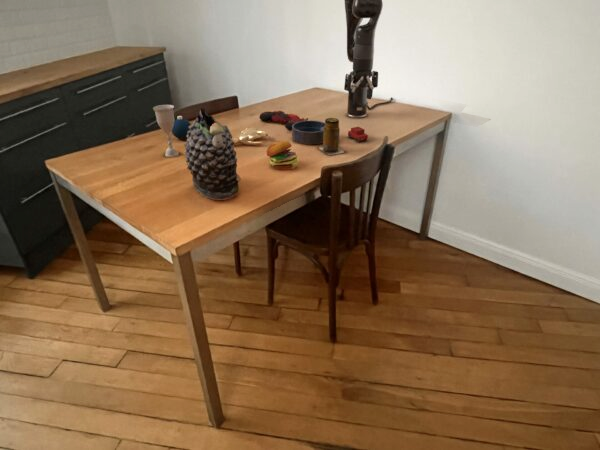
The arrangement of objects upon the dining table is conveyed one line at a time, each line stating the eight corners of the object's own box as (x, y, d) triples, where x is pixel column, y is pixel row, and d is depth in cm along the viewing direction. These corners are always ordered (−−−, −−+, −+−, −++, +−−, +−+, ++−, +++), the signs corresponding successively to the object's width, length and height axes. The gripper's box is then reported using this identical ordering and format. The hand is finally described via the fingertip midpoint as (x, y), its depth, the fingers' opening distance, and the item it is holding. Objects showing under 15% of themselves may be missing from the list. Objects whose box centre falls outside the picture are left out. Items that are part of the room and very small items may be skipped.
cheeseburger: (289, 173, 140) (282, 145, 135) (265, 174, 146) (258, 147, 141) (304, 163, 147) (298, 136, 143) (280, 164, 153) (274, 138, 149)
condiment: (334, 145, 163) (335, 116, 157) (345, 152, 156) (347, 122, 150) (318, 148, 160) (318, 118, 154) (328, 155, 154) (329, 124, 147)
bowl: (303, 130, 178) (304, 118, 175) (334, 136, 172) (335, 124, 169) (285, 141, 167) (284, 128, 164) (317, 148, 160) (317, 134, 158)
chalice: (164, 159, 151) (154, 111, 141) (160, 153, 156) (151, 106, 147) (183, 155, 154) (175, 108, 144) (179, 149, 159) (171, 103, 149)
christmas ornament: (188, 142, 166) (184, 118, 160) (169, 141, 167) (165, 117, 162) (196, 135, 173) (193, 112, 167) (178, 134, 174) (174, 111, 169)
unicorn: (246, 141, 154) (214, 136, 163) (247, 151, 156) (216, 145, 165) (278, 127, 168) (248, 122, 177) (279, 136, 170) (249, 131, 179)
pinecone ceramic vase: (252, 195, 126) (246, 116, 113) (207, 209, 119) (195, 126, 106) (222, 172, 141) (214, 100, 128) (180, 183, 133) (167, 107, 120)
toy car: (347, 137, 171) (348, 127, 169) (356, 135, 173) (357, 125, 171) (358, 143, 165) (359, 132, 163) (367, 141, 167) (368, 130, 165)
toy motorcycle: (293, 135, 176) (318, 122, 184) (292, 124, 173) (317, 111, 181) (257, 124, 191) (281, 112, 200) (255, 114, 188) (280, 102, 196)
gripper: (372, 53, 158) (368, 95, 166) (342, 56, 152) (339, 100, 161) (384, 56, 152) (380, 100, 161) (353, 59, 146) (350, 104, 155)
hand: (360, 100), depth 161 cm, fingers open, 8 cm apart
